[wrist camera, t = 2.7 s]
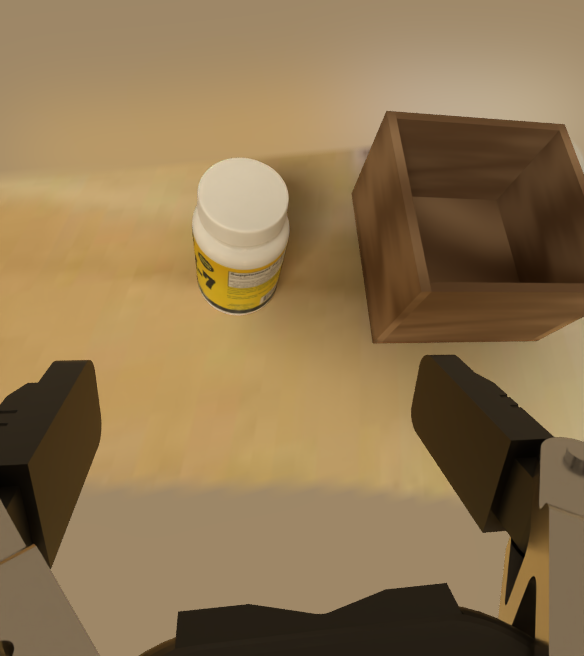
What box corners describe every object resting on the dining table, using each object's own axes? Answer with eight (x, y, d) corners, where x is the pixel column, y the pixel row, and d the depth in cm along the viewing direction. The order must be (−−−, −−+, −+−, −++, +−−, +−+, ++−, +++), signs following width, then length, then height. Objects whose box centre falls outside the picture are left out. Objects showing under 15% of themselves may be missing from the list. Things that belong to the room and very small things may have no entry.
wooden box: (536, 340, 28) (628, 292, 22) (372, 343, 27) (421, 291, 20) (496, 198, 32) (564, 123, 26) (351, 192, 31) (386, 109, 24)
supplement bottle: (191, 253, 27) (179, 153, 19) (266, 243, 28) (283, 144, 20) (205, 324, 26) (199, 246, 18) (284, 310, 27) (310, 231, 19)
